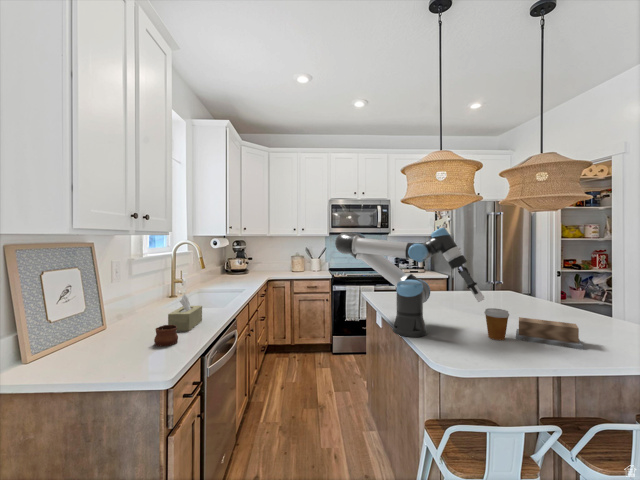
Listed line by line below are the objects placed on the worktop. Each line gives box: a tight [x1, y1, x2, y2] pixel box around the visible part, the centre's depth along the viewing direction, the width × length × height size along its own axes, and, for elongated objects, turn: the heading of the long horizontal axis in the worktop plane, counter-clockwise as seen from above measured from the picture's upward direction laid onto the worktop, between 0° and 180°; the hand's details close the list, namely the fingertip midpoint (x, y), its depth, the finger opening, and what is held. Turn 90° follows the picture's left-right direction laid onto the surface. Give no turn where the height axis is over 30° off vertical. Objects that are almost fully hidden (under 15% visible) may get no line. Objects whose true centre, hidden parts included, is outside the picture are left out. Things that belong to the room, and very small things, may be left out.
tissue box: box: [167, 293, 203, 332], centre depth 152 cm, size 19×10×16 cm, turn 3°
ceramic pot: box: [153, 324, 179, 347], centre depth 126 cm, size 18×18×7 cm
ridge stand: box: [515, 316, 584, 350], centre depth 131 cm, size 22×13×8 cm, turn 56°
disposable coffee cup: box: [483, 307, 510, 341], centre depth 134 cm, size 10×10×12 cm
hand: (481, 299), depth 137 cm, fingers open, 13 cm apart
